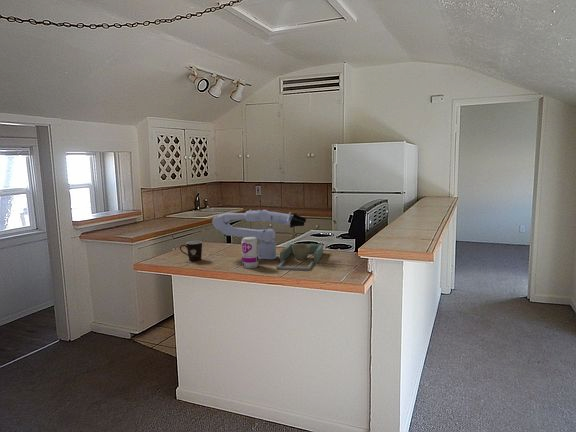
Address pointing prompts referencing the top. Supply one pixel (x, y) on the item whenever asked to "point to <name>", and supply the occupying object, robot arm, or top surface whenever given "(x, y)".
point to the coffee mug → (193, 250)
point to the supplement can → (249, 252)
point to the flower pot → (301, 251)
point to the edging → (294, 267)
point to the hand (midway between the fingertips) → (305, 222)
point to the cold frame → (314, 249)
